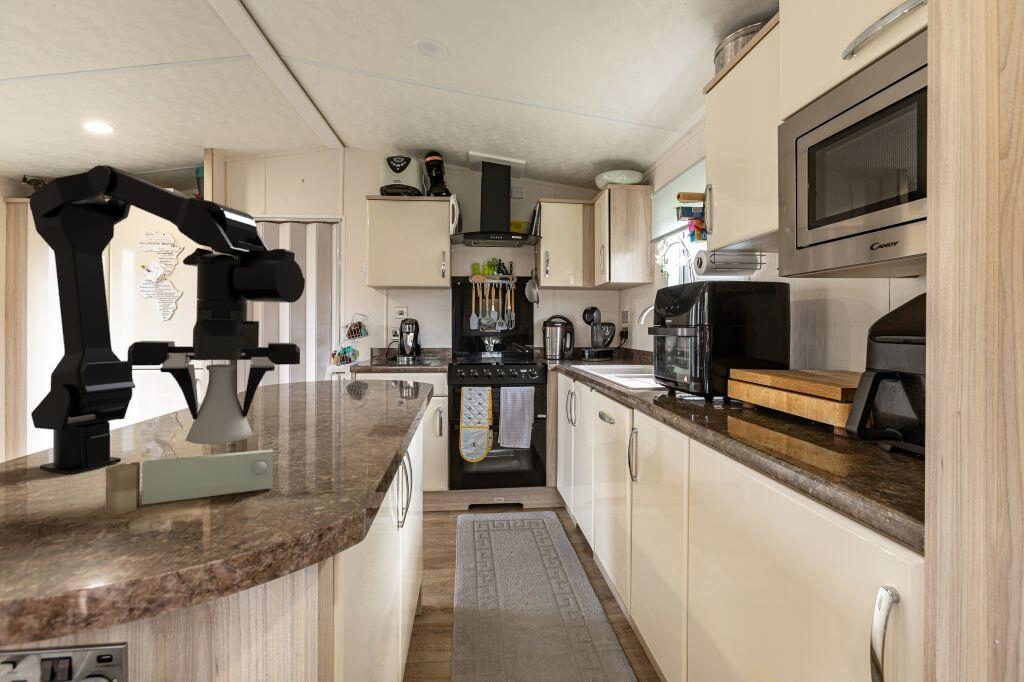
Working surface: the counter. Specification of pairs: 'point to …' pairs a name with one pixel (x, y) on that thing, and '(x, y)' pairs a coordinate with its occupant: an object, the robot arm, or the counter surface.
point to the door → (206, 475)
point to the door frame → (127, 481)
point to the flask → (220, 410)
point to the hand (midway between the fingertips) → (220, 417)
